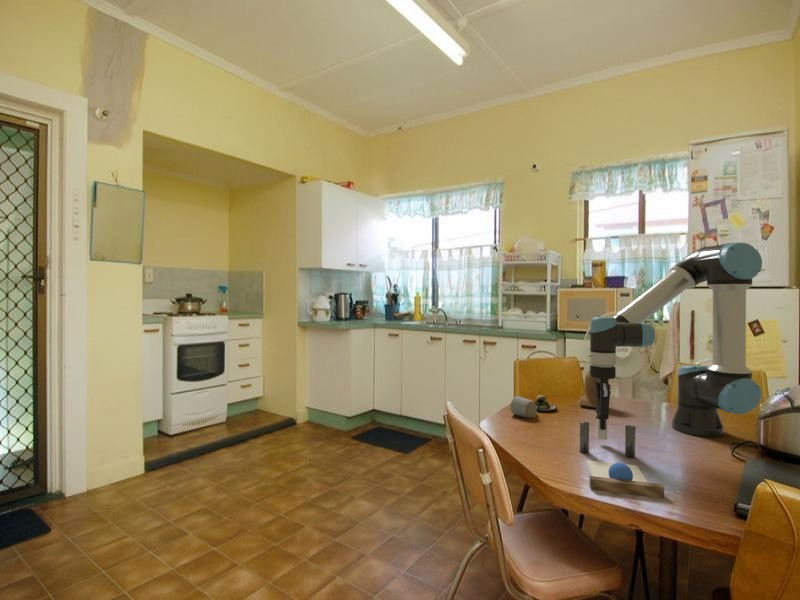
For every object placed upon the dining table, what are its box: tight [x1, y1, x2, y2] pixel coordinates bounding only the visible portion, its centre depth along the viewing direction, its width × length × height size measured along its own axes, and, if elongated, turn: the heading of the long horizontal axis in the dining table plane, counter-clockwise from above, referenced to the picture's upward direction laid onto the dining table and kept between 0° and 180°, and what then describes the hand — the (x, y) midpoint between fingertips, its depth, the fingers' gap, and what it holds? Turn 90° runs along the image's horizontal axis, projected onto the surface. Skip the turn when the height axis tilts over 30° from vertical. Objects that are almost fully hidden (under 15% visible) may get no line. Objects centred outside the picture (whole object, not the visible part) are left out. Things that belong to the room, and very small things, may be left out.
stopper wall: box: [589, 475, 665, 499], centre depth 105 cm, size 16×2×2 cm, turn 74°
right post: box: [624, 424, 636, 459], centre depth 128 cm, size 3×3×9 cm
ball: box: [608, 462, 633, 481], centre depth 109 cm, size 6×6×6 cm
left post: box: [579, 421, 590, 455], centre depth 132 cm, size 3×3×9 cm
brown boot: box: [578, 370, 610, 409], centre depth 188 cm, size 15×12×15 cm
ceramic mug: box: [510, 395, 538, 419], centre depth 172 cm, size 10×8×7 cm
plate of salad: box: [533, 392, 558, 412], centre depth 182 cm, size 12×12×8 cm
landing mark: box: [586, 460, 648, 482], centre depth 117 cm, size 13×13×1 cm
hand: (601, 438), depth 139 cm, fingers closed
